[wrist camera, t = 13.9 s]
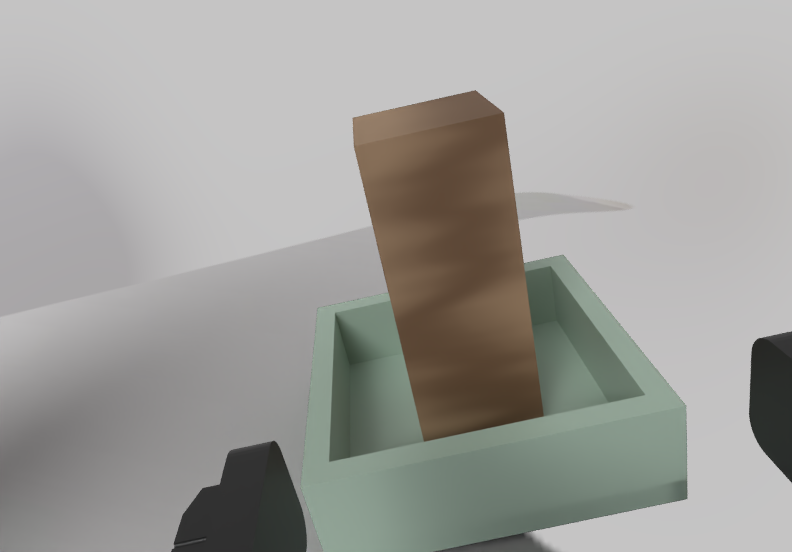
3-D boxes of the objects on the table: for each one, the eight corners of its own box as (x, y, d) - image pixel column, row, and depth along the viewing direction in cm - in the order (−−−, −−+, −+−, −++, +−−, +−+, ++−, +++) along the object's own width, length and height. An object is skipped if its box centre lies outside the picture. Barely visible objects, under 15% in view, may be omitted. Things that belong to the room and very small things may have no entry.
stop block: (426, 453, 22) (353, 145, 17) (414, 385, 26) (352, 117, 21) (545, 428, 22) (503, 112, 17) (516, 363, 26) (475, 90, 21)
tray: (331, 572, 19) (300, 487, 18) (336, 373, 29) (317, 308, 28) (687, 498, 19) (685, 405, 18) (570, 323, 29) (563, 254, 28)
